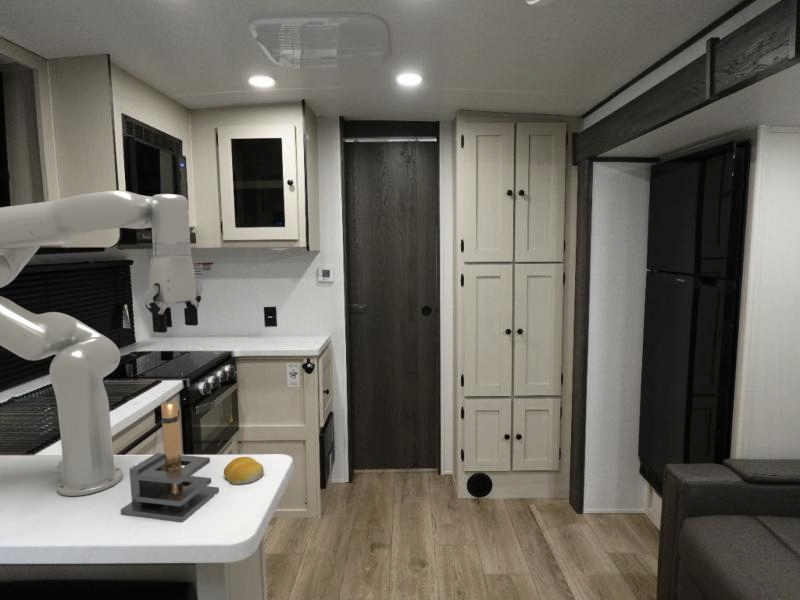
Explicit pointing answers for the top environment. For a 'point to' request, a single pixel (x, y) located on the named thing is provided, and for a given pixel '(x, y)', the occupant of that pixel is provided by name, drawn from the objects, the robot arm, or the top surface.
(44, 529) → the top surface
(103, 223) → the robot arm
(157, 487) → the collar stand
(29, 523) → the top surface
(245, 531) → the top surface
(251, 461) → the bread roll
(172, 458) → the brown rod
